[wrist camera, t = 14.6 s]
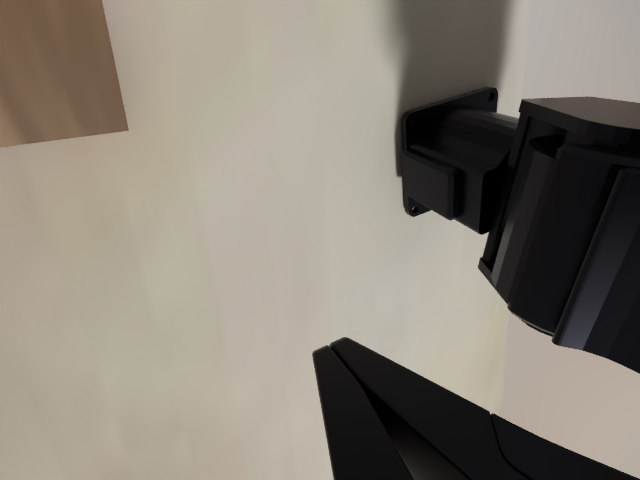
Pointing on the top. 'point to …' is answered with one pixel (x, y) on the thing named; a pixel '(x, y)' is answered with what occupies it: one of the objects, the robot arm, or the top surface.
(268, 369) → the top surface
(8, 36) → the domino
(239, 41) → the top surface
